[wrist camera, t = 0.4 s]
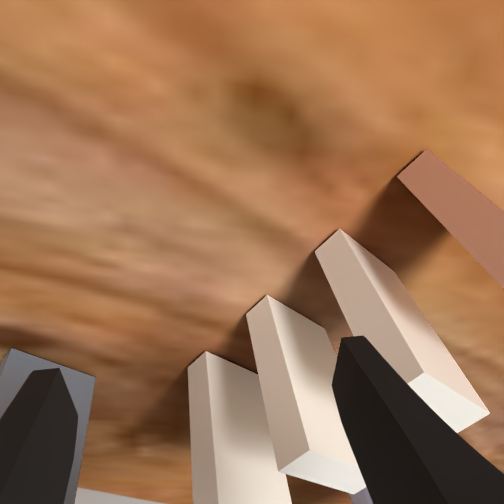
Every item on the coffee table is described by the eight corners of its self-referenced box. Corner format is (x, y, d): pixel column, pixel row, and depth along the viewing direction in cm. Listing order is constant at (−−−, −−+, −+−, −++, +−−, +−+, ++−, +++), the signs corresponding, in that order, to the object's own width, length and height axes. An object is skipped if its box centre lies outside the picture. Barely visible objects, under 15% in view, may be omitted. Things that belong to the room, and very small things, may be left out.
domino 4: (448, 228, 23) (577, 361, 15) (396, 176, 20) (520, 306, 13) (477, 205, 22) (625, 333, 15) (427, 148, 19) (575, 269, 12)
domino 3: (304, 345, 27) (353, 494, 19) (245, 314, 24) (278, 471, 17) (324, 328, 26) (383, 476, 19) (267, 294, 23) (309, 449, 16)
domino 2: (247, 391, 29) (272, 542, 21) (187, 367, 26) (194, 528, 19) (264, 377, 28) (297, 528, 21) (205, 351, 25) (219, 511, 18)
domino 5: (370, 291, 25) (452, 435, 17) (314, 251, 22) (383, 400, 15) (394, 271, 24) (490, 413, 17) (339, 228, 21) (424, 372, 14)
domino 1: (80, 393, 26) (46, 565, 19) (-3, 366, 23) (-79, 552, 16) (95, 377, 25) (66, 549, 18) (11, 347, 23) (-61, 533, 16)
